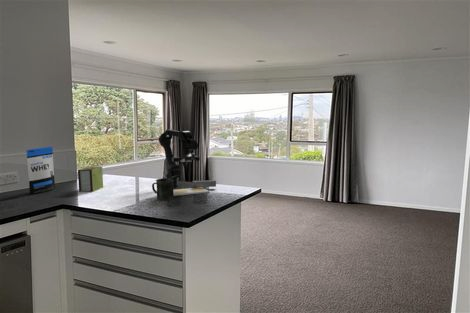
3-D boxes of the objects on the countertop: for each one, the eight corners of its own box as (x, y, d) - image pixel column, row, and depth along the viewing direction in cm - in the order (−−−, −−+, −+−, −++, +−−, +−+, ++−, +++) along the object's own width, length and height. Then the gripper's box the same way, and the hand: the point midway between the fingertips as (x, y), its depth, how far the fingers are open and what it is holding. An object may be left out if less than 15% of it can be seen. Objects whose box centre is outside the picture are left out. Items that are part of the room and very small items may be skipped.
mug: (169, 201, 214) (168, 181, 212) (148, 199, 218) (147, 180, 217) (177, 197, 224) (176, 178, 223) (157, 195, 228) (156, 177, 227)
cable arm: (192, 187, 245) (192, 181, 245) (192, 186, 249) (191, 180, 248) (216, 186, 248) (216, 181, 247) (215, 185, 251) (215, 180, 251)
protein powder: (23, 194, 233) (20, 149, 230) (49, 187, 257) (46, 146, 253) (36, 195, 231) (32, 150, 228) (60, 187, 255) (58, 146, 252)
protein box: (103, 187, 256) (102, 166, 254) (93, 192, 241) (91, 169, 239) (89, 187, 257) (88, 166, 255) (78, 191, 242) (77, 169, 240)
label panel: (169, 191, 241) (168, 189, 241) (202, 188, 251) (202, 186, 251) (174, 195, 228) (173, 193, 228) (209, 192, 237) (208, 190, 237)
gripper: (175, 150, 234) (175, 173, 236) (201, 149, 241) (202, 171, 243) (171, 149, 244) (172, 171, 246) (197, 148, 252) (197, 169, 253)
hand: (186, 171), depth 247 cm, fingers closed
